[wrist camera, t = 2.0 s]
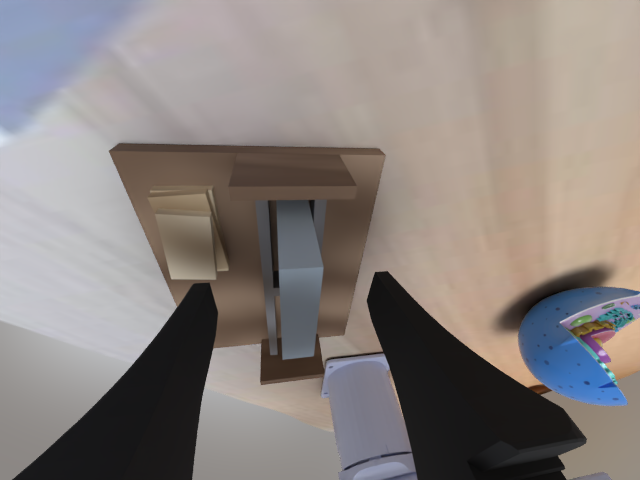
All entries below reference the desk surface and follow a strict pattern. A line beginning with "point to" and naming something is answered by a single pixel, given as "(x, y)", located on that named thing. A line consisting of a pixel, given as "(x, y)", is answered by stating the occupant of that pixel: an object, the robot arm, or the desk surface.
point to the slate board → (298, 278)
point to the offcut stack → (190, 231)
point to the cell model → (577, 341)
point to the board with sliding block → (264, 231)
